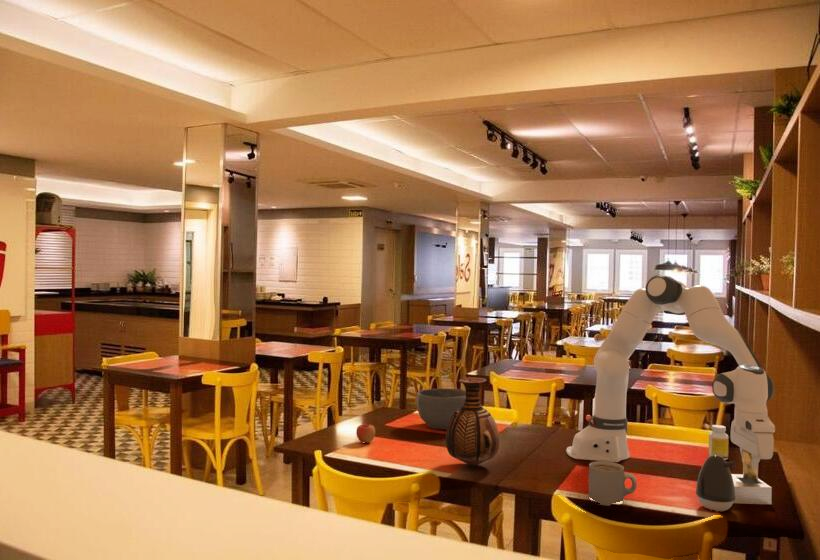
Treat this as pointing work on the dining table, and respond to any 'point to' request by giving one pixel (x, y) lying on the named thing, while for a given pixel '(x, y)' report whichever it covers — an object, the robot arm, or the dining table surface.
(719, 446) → the pill bottle
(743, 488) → the jig block
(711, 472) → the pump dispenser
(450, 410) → the bowl
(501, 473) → the dining table surface
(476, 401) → the vase
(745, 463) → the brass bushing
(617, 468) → the coffee mug
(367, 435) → the apple
